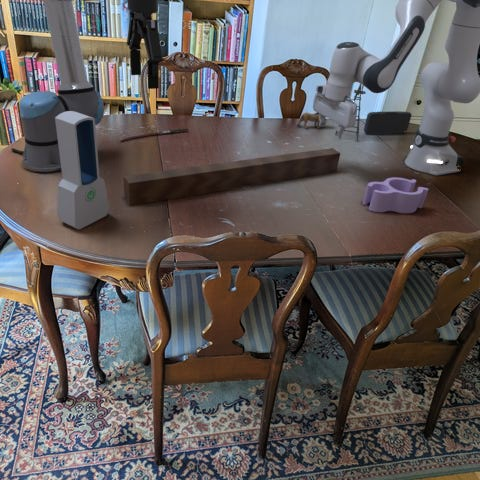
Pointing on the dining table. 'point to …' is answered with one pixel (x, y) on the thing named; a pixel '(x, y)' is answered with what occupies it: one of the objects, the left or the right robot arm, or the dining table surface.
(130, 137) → the sword
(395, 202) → the clip
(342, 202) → the dining table surface
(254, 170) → the post
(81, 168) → the electronic device
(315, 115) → the lion figurine
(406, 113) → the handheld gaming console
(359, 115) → the miniature windmill
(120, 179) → the dining table surface
